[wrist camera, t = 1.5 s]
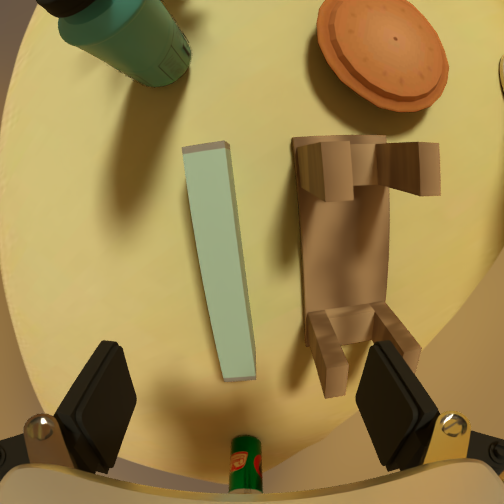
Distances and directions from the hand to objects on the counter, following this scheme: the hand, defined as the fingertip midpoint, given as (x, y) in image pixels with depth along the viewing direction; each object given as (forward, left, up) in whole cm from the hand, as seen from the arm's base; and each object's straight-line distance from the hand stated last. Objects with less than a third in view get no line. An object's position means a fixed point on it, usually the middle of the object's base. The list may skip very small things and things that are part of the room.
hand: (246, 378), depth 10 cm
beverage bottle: (+7, -19, -22) cm, 30 cm away
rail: (+3, +3, -22) cm, 22 cm away
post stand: (-10, +3, -22) cm, 24 cm away
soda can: (+5, +36, -22) cm, 42 cm away
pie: (-16, -19, -22) cm, 33 cm away
